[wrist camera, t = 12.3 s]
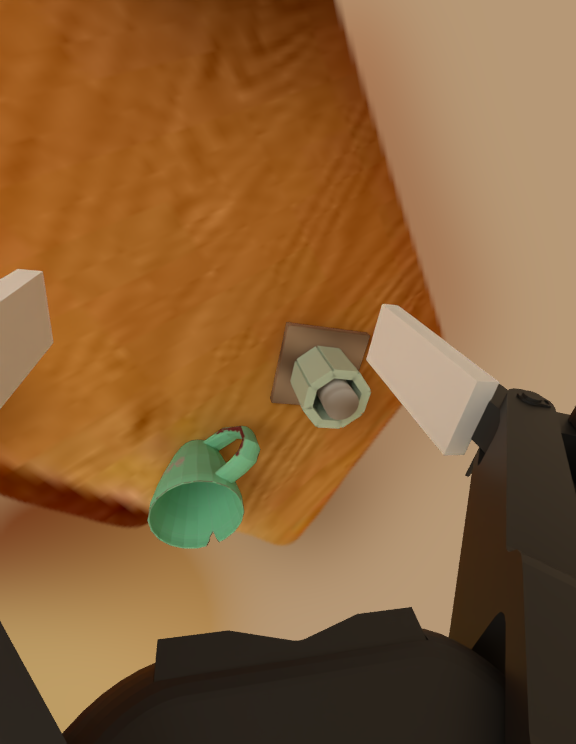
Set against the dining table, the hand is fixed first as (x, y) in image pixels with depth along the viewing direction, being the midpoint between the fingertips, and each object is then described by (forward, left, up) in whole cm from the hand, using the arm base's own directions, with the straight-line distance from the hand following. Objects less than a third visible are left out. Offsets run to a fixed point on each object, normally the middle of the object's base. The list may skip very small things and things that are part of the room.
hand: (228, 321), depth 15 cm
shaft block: (+13, +14, -25) cm, 31 cm away
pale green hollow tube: (+13, +14, -23) cm, 30 cm away
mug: (+25, +3, -25) cm, 35 cm away
